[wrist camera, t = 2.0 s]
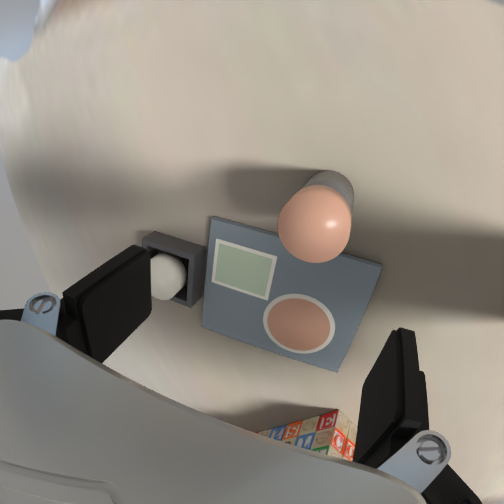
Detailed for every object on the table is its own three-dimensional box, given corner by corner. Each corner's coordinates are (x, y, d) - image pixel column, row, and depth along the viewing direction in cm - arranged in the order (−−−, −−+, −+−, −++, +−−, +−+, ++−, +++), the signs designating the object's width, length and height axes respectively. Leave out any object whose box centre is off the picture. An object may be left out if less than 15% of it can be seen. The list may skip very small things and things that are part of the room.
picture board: (381, 264, 28) (382, 269, 28) (338, 367, 35) (337, 373, 34) (214, 216, 32) (210, 219, 32) (204, 322, 39) (200, 327, 38)
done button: (188, 259, 33) (176, 269, 31) (186, 295, 35) (175, 306, 33) (152, 247, 34) (139, 256, 32) (152, 281, 36) (140, 291, 34)
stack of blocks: (339, 407, 38) (320, 486, 27) (361, 430, 38) (348, 504, 28) (232, 436, 48) (203, 492, 38) (256, 455, 49) (231, 510, 39)
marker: (360, 177, 26) (358, 204, 18) (347, 225, 28) (338, 271, 20) (309, 163, 27) (284, 184, 19) (299, 211, 29) (271, 251, 21)
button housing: (205, 246, 34) (194, 256, 32) (201, 296, 37) (191, 307, 35) (154, 231, 36) (142, 238, 34) (154, 279, 39) (143, 288, 37)
